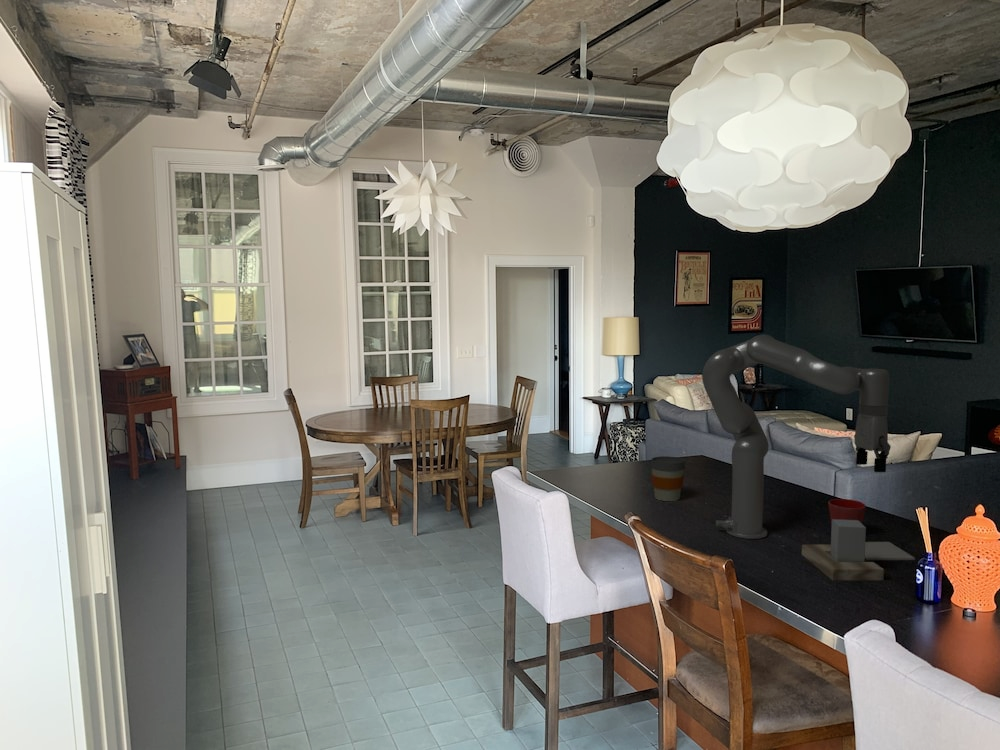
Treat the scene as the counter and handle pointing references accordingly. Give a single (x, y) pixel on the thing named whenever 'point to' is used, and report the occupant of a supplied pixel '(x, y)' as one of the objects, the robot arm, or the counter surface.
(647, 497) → the counter surface
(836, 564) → the box dock
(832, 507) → the flower pot
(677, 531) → the counter surface
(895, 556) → the tile
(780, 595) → the counter surface
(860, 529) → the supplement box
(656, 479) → the reusable coffee cup
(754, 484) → the robot arm
